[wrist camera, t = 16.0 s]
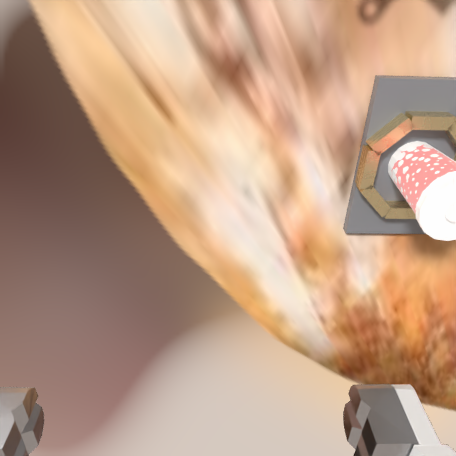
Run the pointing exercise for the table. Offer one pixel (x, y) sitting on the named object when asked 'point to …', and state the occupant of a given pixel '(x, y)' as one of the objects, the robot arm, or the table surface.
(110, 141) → the table surface
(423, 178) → the beverage cup
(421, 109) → the board
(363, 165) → the socket
